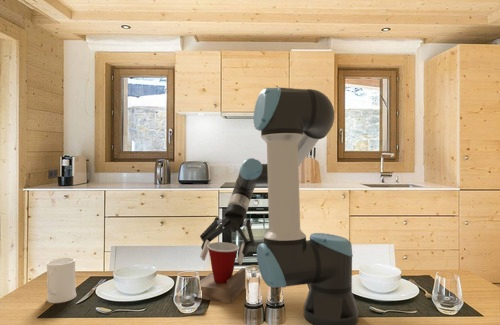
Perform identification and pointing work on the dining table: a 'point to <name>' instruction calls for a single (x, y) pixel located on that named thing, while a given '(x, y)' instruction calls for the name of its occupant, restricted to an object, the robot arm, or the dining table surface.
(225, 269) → the plastic cup
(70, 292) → the mug
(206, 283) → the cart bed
